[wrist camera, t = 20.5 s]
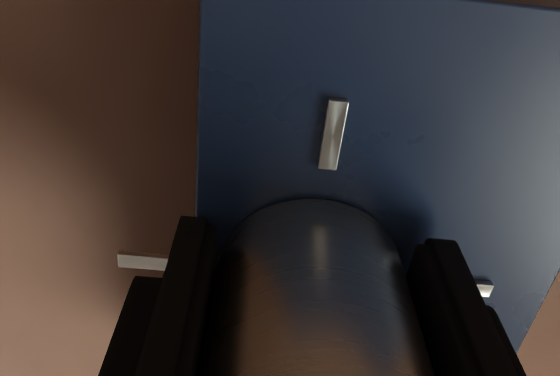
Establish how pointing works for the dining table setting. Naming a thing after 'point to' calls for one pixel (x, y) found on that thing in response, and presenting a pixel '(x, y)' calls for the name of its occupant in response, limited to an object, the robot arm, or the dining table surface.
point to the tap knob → (311, 298)
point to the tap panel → (390, 127)
